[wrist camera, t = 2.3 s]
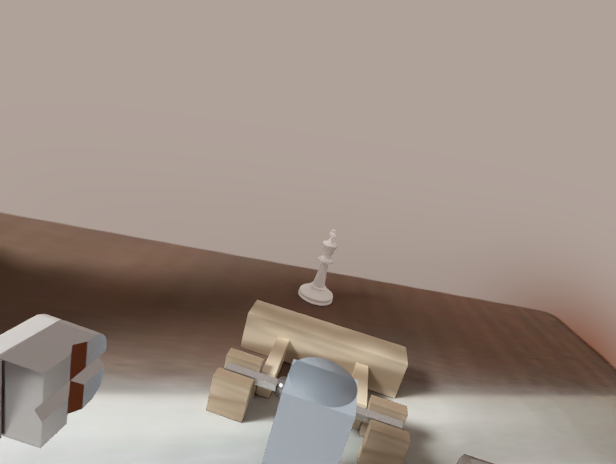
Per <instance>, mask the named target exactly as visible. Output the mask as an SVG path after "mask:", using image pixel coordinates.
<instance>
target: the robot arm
mask: <svg viewBox="0 0 616 464" xmlns="http://www.w3.org/2000/svg"><path fill="white" fill-rule="evenodd" d="M106 340H107V338H106V337H105V336H104V335H103V334H101V333H99V332H96V331H93V330H90V329H87V328H85V327H82V326H79V325H76V324H74V323H71V322H68V321H65V320H64V321H63V320H61V319H58V318H56V317H53V316H50V315H47V314H38V315H36V316H34V317H32V318H30V319H28V320H27V321H25V322H23V323H21V324H19V325H17V326H16V327H14V328H12V329H10V330H8V331H6V332H5V333H3V334H1V335H0V438H1V435H2V436H5V437H8V438H11V439H14V440H17V441H20V442H23V443H26V444H29V445H32V446H35V447H38V448H41V447H42V446H43V445H44V444H45V443H47V442H48V441H49V440H50V439H51V438H52V437H53V436H54V435H55V434H56V433H57V432H58V431H59V430H60V429H61V428H62V427H63V426H64V425H66V422H67V415H68V414H69V413H71V412H74V411H77V410H80V409H82V408H83V407H84V406H85V405H86V404H87V403H88V402H89V401H90V400H91V399H92V398H93V396H94V395H95V393H96V392H97V390H98V388H99V387H100V384H101V381H102V378H103V374H104V365H103V363H102V361H101V359H100V358H99V356H100V355H101V354H102V353H104V352H105V351H106ZM457 464H493V463H490V462H487V461H484V460H481V459H478V458H475V457H472V456H469V455H466V454H464V455H463V456H461V457H460V458H459V460H458V462H457Z"/></svg>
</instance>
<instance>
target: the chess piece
mask: <svg viewBox="0 0 616 464" xmlns="http://www.w3.org/2000/svg"><path fill="white" fill-rule="evenodd" d="M335 234H336V230H335V229H332V232H330V234H329V235H330V239H329V240H326V241H323V256H319V257H318V260H319V261H320V262H321V265H320V267H319V270H318V272H317V274H316V277H315V279H314V281H313V282H311V283H306V284H303V285H301V286H300V289H299V291H298V294H299V296H300V297H301V298H302V299H303V300H305V301H307V302H309V303H311V304H315V305H320V306H325V305H329V304H331V303H332V301H333V294H332V292H331V291H330V290H329V289H327V288H326V286H325V280H326V273H327V268H328V264H333V259H332V258H331V255H332V254H333V252H334V251H335V250H336V248H337V244H336V243H335V242H333V241H334V240H335V239H336V236H335Z"/></svg>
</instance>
